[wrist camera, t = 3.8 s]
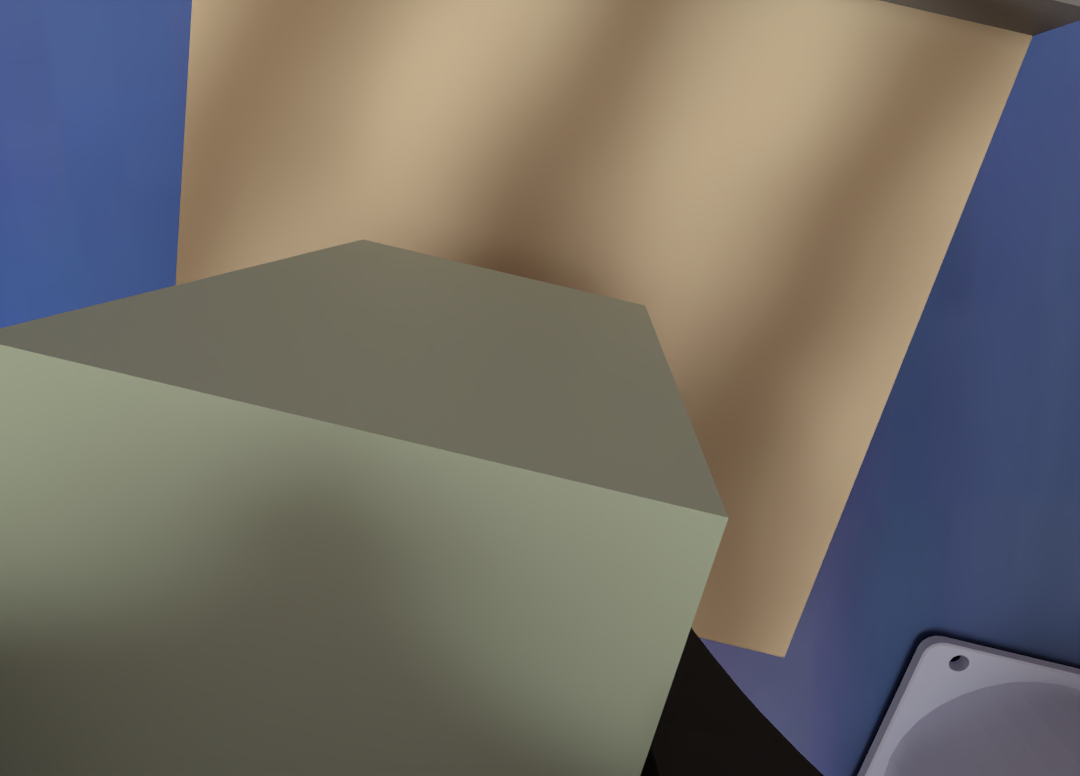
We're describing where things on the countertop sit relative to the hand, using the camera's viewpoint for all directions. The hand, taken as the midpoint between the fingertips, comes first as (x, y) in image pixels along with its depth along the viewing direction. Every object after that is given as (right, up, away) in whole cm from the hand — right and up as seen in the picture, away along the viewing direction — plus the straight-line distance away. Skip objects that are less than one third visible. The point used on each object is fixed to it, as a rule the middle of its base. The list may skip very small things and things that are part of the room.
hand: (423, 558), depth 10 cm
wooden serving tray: (+2, +5, +7) cm, 9 cm away
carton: (0, +1, +2) cm, 2 cm away
